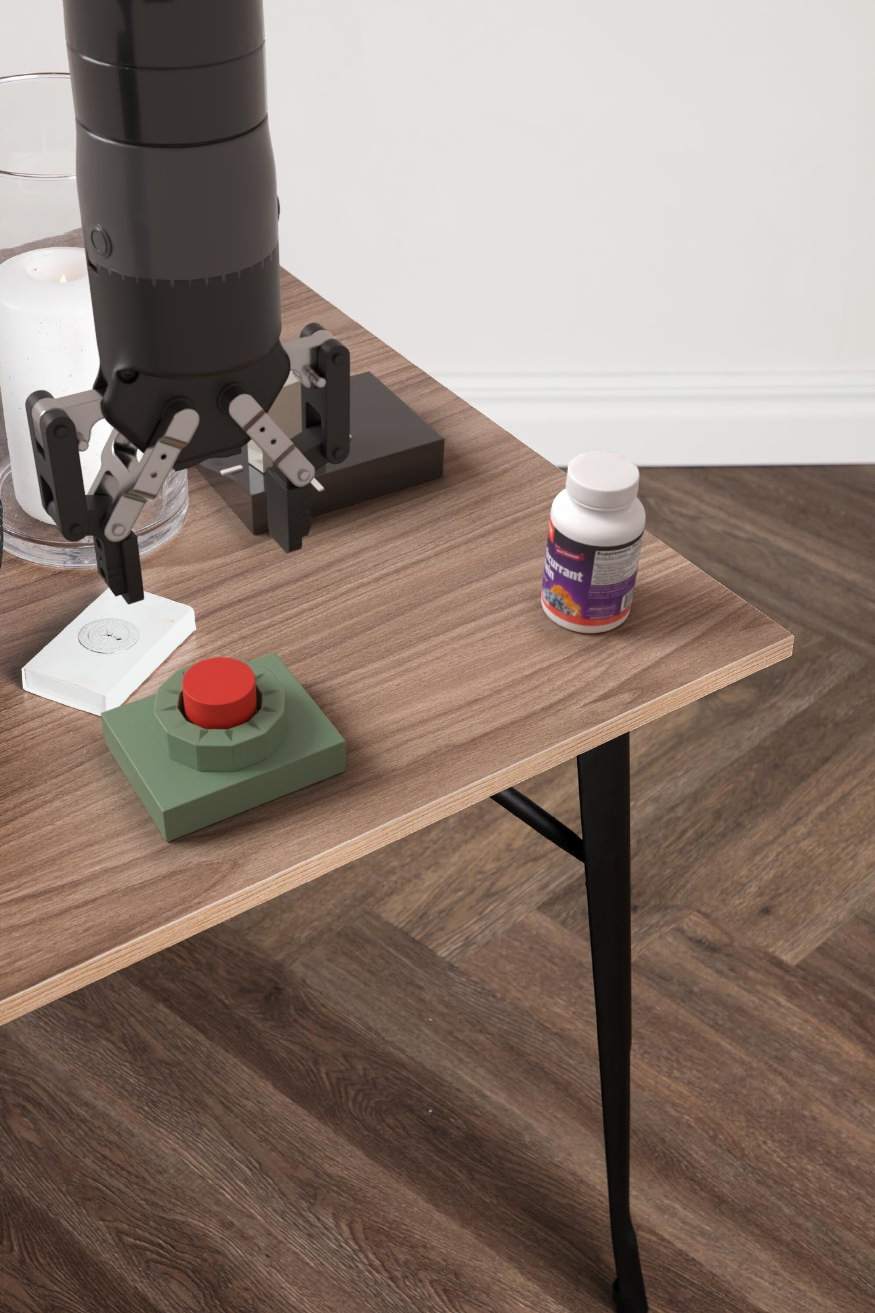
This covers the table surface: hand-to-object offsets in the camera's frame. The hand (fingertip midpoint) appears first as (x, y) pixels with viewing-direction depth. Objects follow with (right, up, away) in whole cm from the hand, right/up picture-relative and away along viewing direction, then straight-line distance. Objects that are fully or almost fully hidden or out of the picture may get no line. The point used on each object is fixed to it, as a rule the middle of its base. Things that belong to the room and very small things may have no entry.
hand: (208, 567), depth 66 cm
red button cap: (0, -7, +6) cm, 9 cm away
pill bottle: (+19, -1, +19) cm, 27 cm away
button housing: (0, -9, +8) cm, 12 cm away
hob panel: (+2, +8, +29) cm, 30 cm away
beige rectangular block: (+1, +9, +25) cm, 26 cm away
